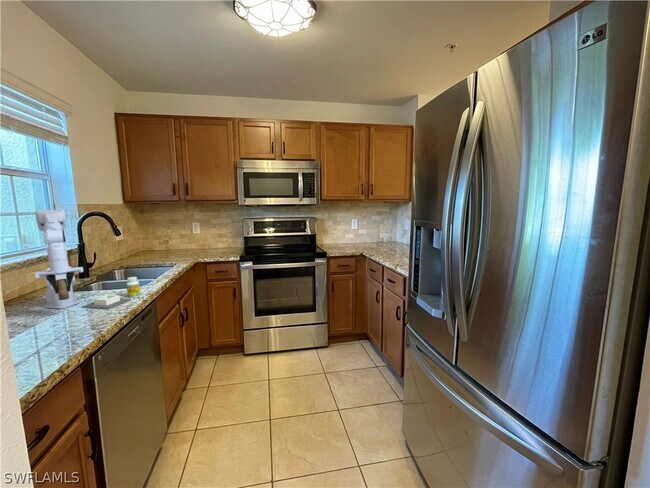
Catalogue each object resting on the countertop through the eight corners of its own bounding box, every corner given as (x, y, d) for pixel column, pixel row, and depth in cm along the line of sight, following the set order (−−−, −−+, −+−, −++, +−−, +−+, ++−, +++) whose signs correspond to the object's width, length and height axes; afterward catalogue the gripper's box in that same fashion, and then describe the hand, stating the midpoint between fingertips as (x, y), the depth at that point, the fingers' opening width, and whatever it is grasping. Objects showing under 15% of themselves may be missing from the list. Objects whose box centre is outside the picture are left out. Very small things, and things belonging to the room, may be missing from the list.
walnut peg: (56, 299, 122) (53, 280, 120) (65, 297, 125) (62, 278, 123) (63, 300, 121) (60, 281, 120) (71, 297, 124) (68, 278, 123)
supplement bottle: (140, 294, 151) (138, 275, 150) (140, 297, 147) (138, 278, 145) (127, 296, 148) (125, 277, 147) (127, 299, 144) (125, 279, 142)
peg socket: (82, 307, 133) (81, 300, 133) (106, 298, 145) (105, 292, 144) (108, 309, 130) (107, 302, 130) (131, 300, 142) (130, 293, 142)
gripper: (31, 263, 113) (37, 298, 115) (81, 258, 122) (85, 290, 124) (34, 260, 118) (39, 293, 120) (81, 255, 127) (85, 286, 129)
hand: (63, 291), depth 122 cm, fingers closed on walnut peg, 3 cm apart
